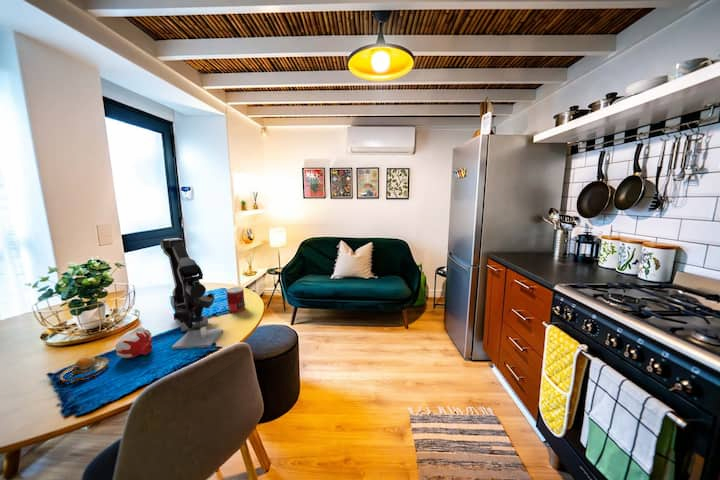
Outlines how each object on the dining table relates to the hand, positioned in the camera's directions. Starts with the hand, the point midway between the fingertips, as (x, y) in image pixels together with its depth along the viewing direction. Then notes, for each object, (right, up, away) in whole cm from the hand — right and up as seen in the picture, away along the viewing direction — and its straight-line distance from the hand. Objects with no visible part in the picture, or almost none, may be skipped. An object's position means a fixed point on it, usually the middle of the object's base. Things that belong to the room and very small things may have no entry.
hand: (195, 324), depth 116 cm
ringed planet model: (-18, -7, -29) cm, 35 cm away
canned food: (+10, +2, +18) cm, 21 cm away
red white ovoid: (-9, -5, -19) cm, 22 cm away
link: (0, -1, 0) cm, 1 cm away
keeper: (+8, -3, -10) cm, 13 cm away
